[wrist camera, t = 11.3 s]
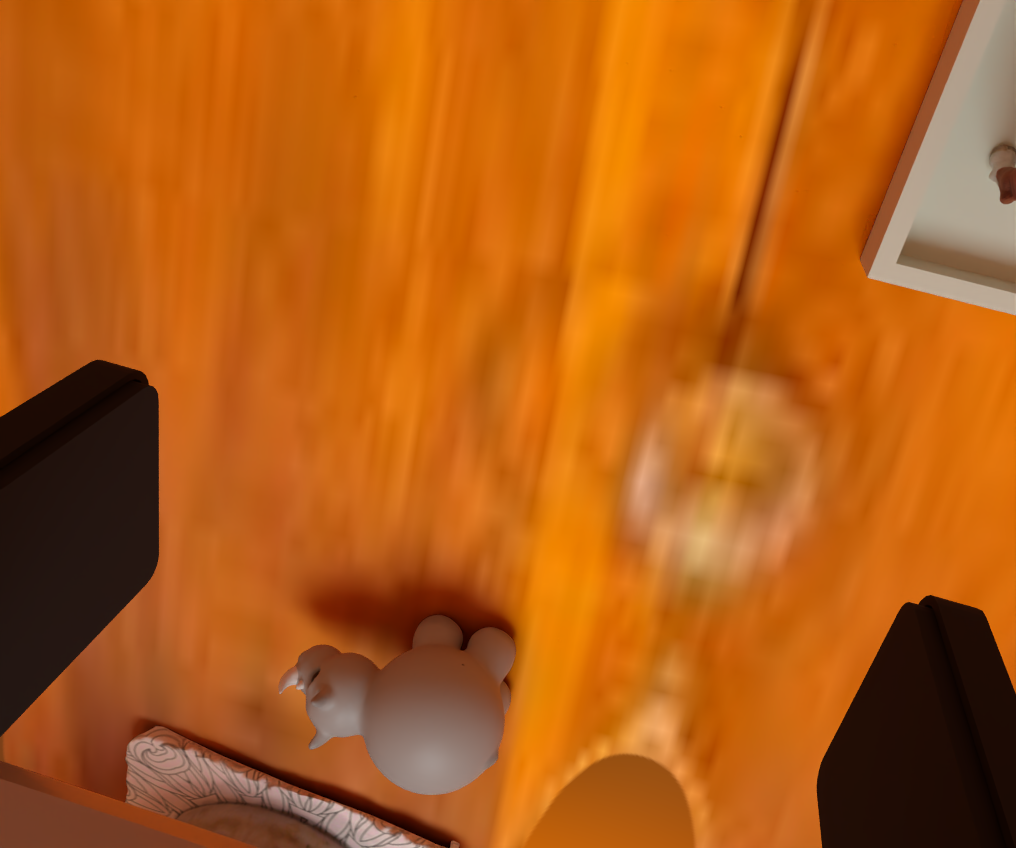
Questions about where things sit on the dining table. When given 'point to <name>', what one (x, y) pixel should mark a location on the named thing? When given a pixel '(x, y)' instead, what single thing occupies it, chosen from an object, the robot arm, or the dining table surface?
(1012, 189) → the bull figurine
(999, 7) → the tray
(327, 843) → the cookie jar
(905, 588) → the dining table surface
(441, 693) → the chubby cartoon animal
